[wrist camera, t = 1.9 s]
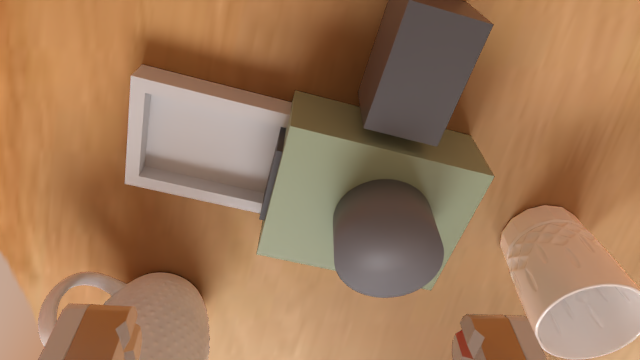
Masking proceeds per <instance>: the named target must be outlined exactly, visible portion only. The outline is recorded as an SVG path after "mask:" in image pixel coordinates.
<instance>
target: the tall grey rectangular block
mask: <svg viewBox="0 0 640 360" xmlns="http://www.w3.org/2000/svg"><path fill="white" fill-rule="evenodd" d="M492 27H493V24H492V23H491V22H490V21H489V20H487V19H486V18H485V17H484V16H483V15H481V14H480V13H479V12H478V11H477V10H475V9H474V8H473V7H472V6H471V5H469V4H468V3H467V2H465V1H462V0H388V3H387V6H386V9H385V12H384V15H383V18H382V21H381V24H380V27H379V30H378V33H377V36H376V39H375V42H374V45H373V48H372V51H371V54H370V57H369V60H368V63H367V66H366V69H365V72H364V75H363V78H362V81H361V84H360V87H359V90H358V98H359V104H360V110H361V116H362V122H363V128H365V129H369V130H373V131H377V132H381V133H385V134H388V135H392V136H396V137H400V138H404V139H408V140H412V141H416V142H420V143H424V144H428V145H432V146H436V147H437V146H438V144H439V142H440V140H441V137H442V135H443V133H444V131H445V129H446V127H447V124H448V122H449V120H450V118H451V116H452V114H453V111H454V109H455V107H456V105H457V103H458V101H459V98H460V96H461V94H462V92H463V90H464V88H465V85H466V83H467V81H468V79H469V77H470V75H471V72H472V70H473V68H474V66H475V64H476V62H477V59H478V57H479V55H480V53H481V51H482V49H483V46H484V44H485V42H486V40H487V38H488V35H489V33H490V31H491V29H492Z"/></svg>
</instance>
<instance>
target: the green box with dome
mask: <svg viewBox="0 0 640 360" xmlns="http://www.w3.org/2000/svg"><path fill="white" fill-rule="evenodd" d="M493 178H494V175H493V173H492V171H491V169H490V168H489V166H488V164H487V163H486V161H485V159H484V157H483V156H482V154H481V152H480V151H479V149H478V147H477V145H476V144H475V142H474V140H473V139H472V137H471V135H467V134H463V133H459V132H455V131H452V130H448V129H445V131H444V133H443V135H442V137H441V140H440V142H439V144H438V146H437V147H436V146H432V145H428V144H424V143H420V142H416V141H412V140H408V139H404V138H400V137H396V136H392V135H388V134H385V133H381V132H377V131H373V130H369V129H365V128H363V122H362V116H361V110H360V107H359V106H355V105H351V104H347V103H343V102H339V101H335V100H331V99H328V98H324V97H320V96H316V95H312V94H308V93H304V92H300V91H297V90H295V93H294V96H293V100H292V102H288V101H285V100H281V99H277V98H273V97H269V96H265V95H261V94H257V93H253V92H249V91H245V90H241V89H237V88H233V87H229V86H226V85H222V84H218V83H214V82H210V81H206V80H202V79H198V78H194V77H190V76H186V75H182V74H178V73H174V72H170V71H166V70H163V69H159V68H155V67H151V66H147V65H143V64H142V65H141V66H140V67H139V68H138V69H137V70H136V71H135V72H134V73H133V74H132V75H131V82H130V99H129V117H128V134H127V152H126V169H125V184H128V185H132V186H137V187H141V188H146V189H151V190H155V191H160V192H164V193H169V194H173V195H178V196H183V197H187V198H192V199H196V200H201V201H205V202H210V203H214V204H219V205H224V206H228V207H233V208H237V209H242V210H246V211H251V212H256V213H260V218H259V219H260V220H263V221H262V227H261V232H260V238H259V243H258V249H257V255H262V256H267V257H272V258H276V259H281V260H286V261H291V262H296V263H301V264H306V265H310V266H315V267H320V268H325V269H330V270H335V271H337V274H338V275H339V277H340V279H341V280H342V281H343V282H344V283H345V284H346V285H347V286H349V287H350V288H352V289H353V290H355V291H357V292H359V293H362V294H364V295H368V296H372V297H381V298H389V297H398V296H403V295H406V294H409V293H412V292H414V291H417V290H418V289H420V288H422V289H426V290H432V288H433V286H434V284H435V282H436V281H437V279H438V277H439V275H440V273H441V272H442V270H443V268H444V266H445V264H446V263H447V261H448V259H449V257H450V255H451V254H452V252H453V250H454V248H455V246H456V245H457V243H458V241H459V239H460V238H461V236H462V234H463V232H464V230H465V229H466V227H467V225H468V223H469V221H470V220H471V218H472V216H473V214H474V212H475V211H476V209H477V207H478V205H479V203H480V202H481V200H482V198H483V196H484V194H485V193H486V191H487V189H488V187H489V185H490V184H491V182H492V180H493Z"/></svg>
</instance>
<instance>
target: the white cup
mask: <svg viewBox="0 0 640 360" xmlns="http://www.w3.org/2000/svg"><path fill="white" fill-rule="evenodd" d="M500 247H501V249H502V252H503V254H504V256H505V259H506V261H507V264H508V266H509V273H510V275H511V278H512V281H513V283H514V286H515V288H516V291H517V294H518V297H519V299H520V302H521V304H522V306H523V309H524V311H525V314H526V316H527V319H528V321H529V323H530V325H531V327H532V329H533V331H534V333H535V335H536V337H537V339H538V341H539V344H540V346H541V348H542V349H543V350H544V351H546V352H547V353H549V354H551V355H553V356H556V357H560V358H564V359H576V360H578V359H590V358H596V357H600V356H604V355H607V354H610V353H612V352H615V351H617V350H619V349H621V348H623V347H625V346H626V345H628V344H629V343H631V342H632V341H634V340H635V339H636V338H637V337H638V336H639V335H640V288H639V287H638V286H637V285H636V284H635V282H634V281H633V280H632V279H631V278H630V277H629V276H628V274H627V273H626V272H625V271H624V270H623V269H622V267H621V266H620V265H619V264H618V263H617V262H616V260H615V259H614V258H613V257H612V256H611V254H610V253H609V252H608V251H607V250H606V249H605V248H604V247H603V246H602V245H601V244H600V243H599V242H598V240H597V239H596V238H595V237H594V236H593V235H592V234H591V233H590V232H589V231H588V230H587V229H586V228H585V227H584V226H583V225H582V224H581V222H580V221H579V220H578V219H577V218H576V216H575V215H573V214H572V213H570V212H569V211H567V210H566V209H564V208H563V207H558V206H549V205H543V206H538V207H534V208H530V209H527V210H525V211H523V212H522V213H520V214H518V215H517V216H515V217H514V218H512V219H511V220H510V222H509V223H508V224H507V226H506V227H505V228H504V230H503V231H502V235H501V241H500Z"/></svg>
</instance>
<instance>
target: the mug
mask: <svg viewBox="0 0 640 360" xmlns="http://www.w3.org/2000/svg"><path fill="white" fill-rule="evenodd" d="M79 285H88V286H94V287H98V288H100V289H102V290H104V291H106V292H107V293H109V294H111V298H110V299H108V300H107V301H106V302H105V303H104V305H115V306H136V310H137V313H138V317H137V320H136V324H138V325H139V326H140V327H141V331H142V346H141V353H140V357H139V360H208V355H209V348H210V346H209V341H210V336H209V324H208V319H209V318H208V314H207V309H206V307H205V304H204V301H203V299H202V297H201V295H200V293H199V291H198V290H197V289H196V288H195V287H194V285H192V284H191V283H190V282H189V281H187V280H186V279H184V278H182V277H180V276H178V275H175V274H171V273H163V272H157V273H150V274H146V275H143V276H141V277H138V278H136V279H134V280H133V281H131V282H129V283H128V284H125V283H124V282H122V281H120V280H117V279H115V278H113V277H110V276H107V275H104V274H101V273H96V272H80V273H76V274H73V275H71V276H69V277H67V278H65V279H63V280H62V281H61V282H59V283H58V284H57V285H56V286H55V287H54V288H53V289H52V290H51V291H50V293H49V294H48V295H47V297H46V298H45V300H44V302H43V304H42V307H41V310H40V313H39V318H38V331H39V336H40V339H41V342H42V344H43V345H44V347H45V345H46V343H47V341H48V339H49V337H50V335H51V332H52V330H53V328H54V326H55V324H56V322H57V319H56V318H57V309H58V305H59V302H60V300H61V298H62V296H63V295H64V294H65V293H66V292H67V291H68V290H69V289H70V288H72V287H74V286H79Z"/></svg>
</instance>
